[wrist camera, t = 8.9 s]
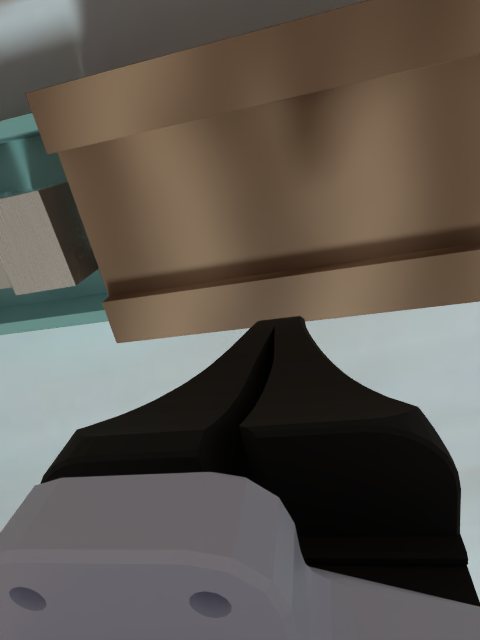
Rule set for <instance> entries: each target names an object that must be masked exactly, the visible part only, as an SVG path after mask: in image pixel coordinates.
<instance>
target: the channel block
mask: <svg viewBox="0 0 480 640" xmlns="http://www.w3.org/2000/svg"><path fill="white" fill-rule="evenodd" d="M25 95H26V97H27V100H28V103H29V106H30V108H31V111H32V114H33V116H34V119H35V122H36V125H37V127H38V130H39V133H40V135H41V138H42V141H43V144H44V146H45V149H46V152H47V154H52V153H58V155H59V158H60V161H61V164H62V166H63V169H64V172H65V175H66V178H67V180H68V183H69V186H70V189H71V192H72V194H73V197H74V200H75V203H76V206H77V208H78V211H79V214H80V217H81V220H82V222H83V225H84V228H85V231H86V234H87V236H88V239H89V242H90V245H91V248H92V250H93V253H94V256H95V259H96V262H97V264H98V267H99V270H100V273H101V276H102V278H103V281H104V284H105V287H106V289H107V292H108V295H109V296H108V297H107V298H106V299H105V300H104V301H103V302H102V304H103V307H104V310H105V312H106V315H107V318H108V320H109V323H110V326H111V329H112V331H113V334H114V337H115V339H116V342H117V343H123V342H132V341H140V340H149V339H158V338H166V337H175V336H184V335H192V334H201V333H210V332H218V331H227V330H236V329H244V328H251V327H252V326H253V325H254V324H255V323H256V322H257V321H261V320H269V319H278V318H286V317H294V316H301V317H302V318H304V319H305V321H314V320H322V319H331V318H340V317H348V316H357V315H366V314H374V313H383V312H392V311H400V310H409V309H418V308H426V307H435V306H444V305H452V304H461V303H470V302H478V301H480V0H368V1H364V2H360V3H357V4H353V5H349V6H346V7H342V8H338V9H335V10H331V11H327V12H324V13H320V14H316V15H313V16H309V17H305V18H301V19H298V20H294V21H290V22H287V23H283V24H279V25H276V26H272V27H268V28H265V29H261V30H257V31H254V32H250V33H246V34H243V35H239V36H235V37H232V38H228V39H224V40H221V41H217V42H213V43H209V44H206V45H202V46H198V47H195V48H191V49H187V50H184V51H180V52H176V53H173V54H169V55H165V56H162V57H158V58H154V59H151V60H147V61H143V62H140V63H136V64H132V65H129V66H125V67H121V68H117V69H114V70H110V71H106V72H103V73H99V74H95V75H92V76H88V77H84V78H81V79H77V80H73V81H70V82H66V83H62V84H59V85H55V86H51V87H48V88H44V89H40V90H37V91H33V92H29V93H25Z"/></svg>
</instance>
